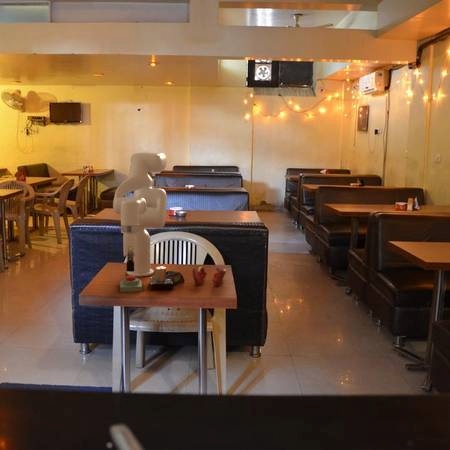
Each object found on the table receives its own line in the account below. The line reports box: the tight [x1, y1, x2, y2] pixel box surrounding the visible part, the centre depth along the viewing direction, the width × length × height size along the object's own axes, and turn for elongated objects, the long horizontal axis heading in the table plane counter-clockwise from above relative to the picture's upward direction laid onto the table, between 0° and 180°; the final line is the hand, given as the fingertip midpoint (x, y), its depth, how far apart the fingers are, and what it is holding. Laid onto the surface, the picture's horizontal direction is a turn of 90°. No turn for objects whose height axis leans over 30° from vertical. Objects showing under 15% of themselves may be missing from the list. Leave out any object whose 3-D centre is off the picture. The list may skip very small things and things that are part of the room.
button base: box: [119, 277, 143, 293], centre depth 221 cm, size 10×9×4 cm
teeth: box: [192, 266, 227, 287], centre depth 232 cm, size 10×8×15 cm
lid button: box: [125, 275, 136, 281], centre depth 221 cm, size 4×4×2 cm
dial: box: [155, 266, 167, 281], centre depth 224 cm, size 4×4×6 cm
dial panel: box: [149, 276, 173, 292], centre depth 225 cm, size 11×9×3 cm
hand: (130, 271), depth 220 cm, fingers closed
